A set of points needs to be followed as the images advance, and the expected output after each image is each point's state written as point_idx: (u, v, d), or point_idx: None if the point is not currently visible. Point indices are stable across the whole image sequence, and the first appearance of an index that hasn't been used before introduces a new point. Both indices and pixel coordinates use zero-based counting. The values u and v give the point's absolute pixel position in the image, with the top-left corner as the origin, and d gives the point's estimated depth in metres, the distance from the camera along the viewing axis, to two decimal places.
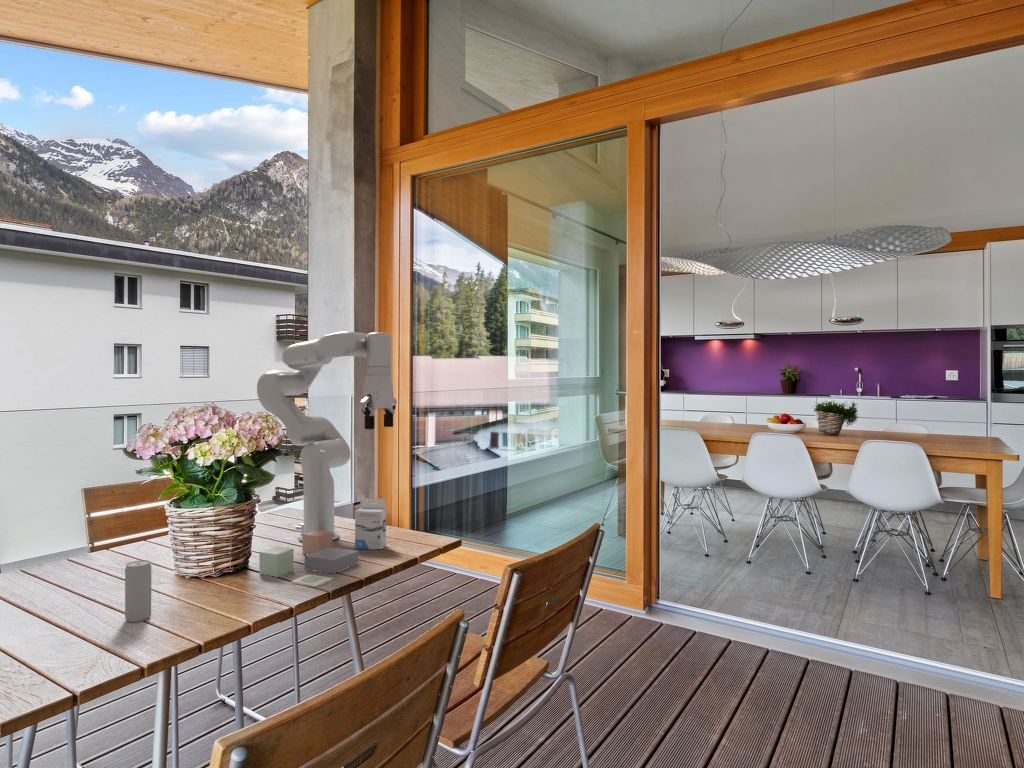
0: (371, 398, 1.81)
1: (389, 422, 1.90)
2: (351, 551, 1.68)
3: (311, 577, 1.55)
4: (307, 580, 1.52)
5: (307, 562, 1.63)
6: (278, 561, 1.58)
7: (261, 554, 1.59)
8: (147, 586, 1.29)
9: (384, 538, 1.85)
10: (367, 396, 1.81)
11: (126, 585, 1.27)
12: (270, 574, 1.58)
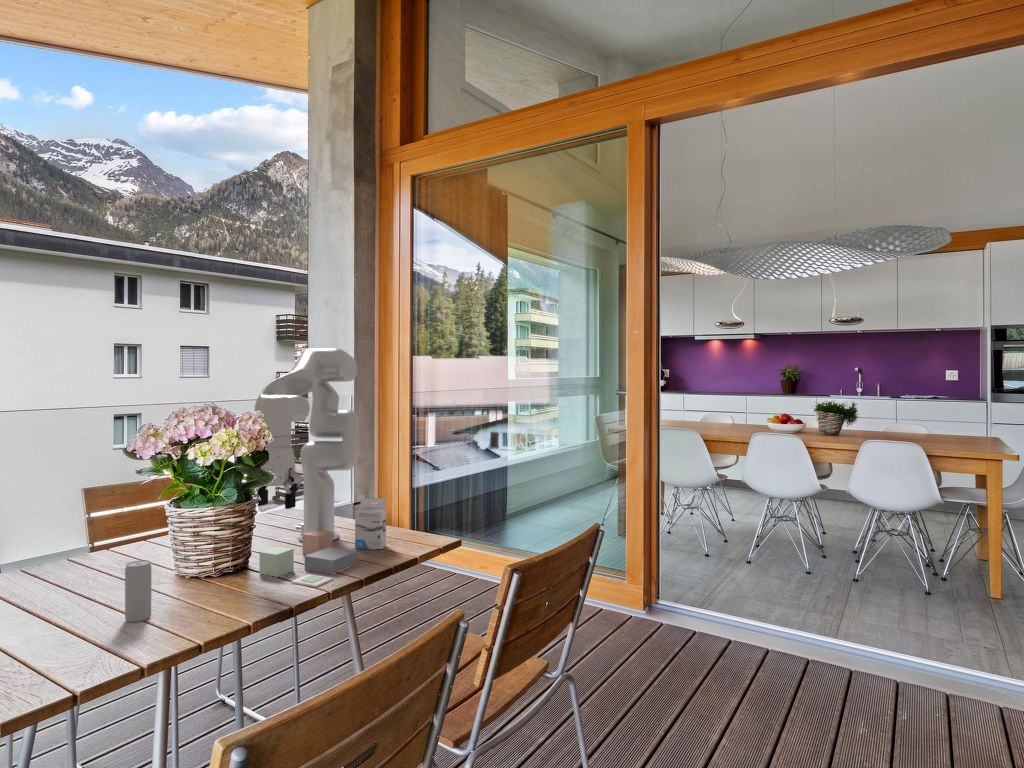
0: None
1: (265, 499, 1.63)
2: (351, 551, 1.68)
3: (311, 577, 1.55)
4: (307, 580, 1.52)
5: (307, 562, 1.63)
6: (278, 561, 1.58)
7: (261, 554, 1.59)
8: (147, 586, 1.29)
9: (384, 538, 1.85)
10: (292, 470, 1.58)
11: (126, 585, 1.27)
12: (270, 574, 1.58)
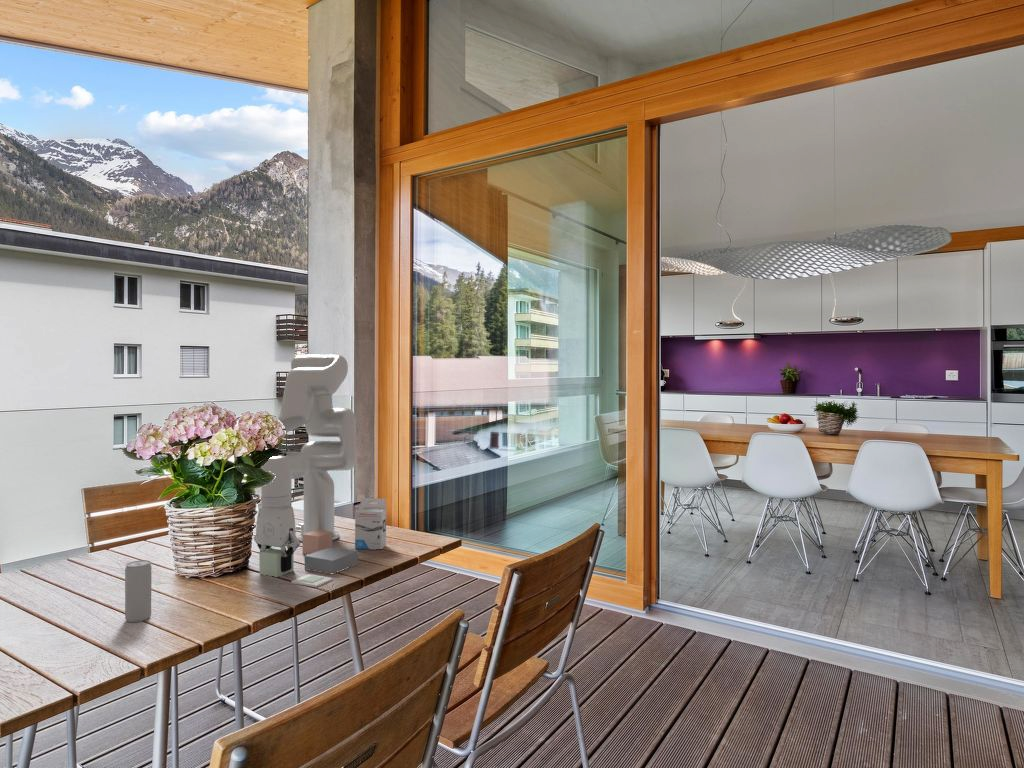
0: None
1: None
2: (351, 551, 1.68)
3: (311, 577, 1.55)
4: (307, 580, 1.52)
5: (307, 562, 1.63)
6: (278, 560, 1.58)
7: (261, 554, 1.59)
8: (147, 586, 1.29)
9: (384, 538, 1.85)
10: (291, 533, 1.59)
11: (126, 585, 1.27)
12: (270, 574, 1.58)
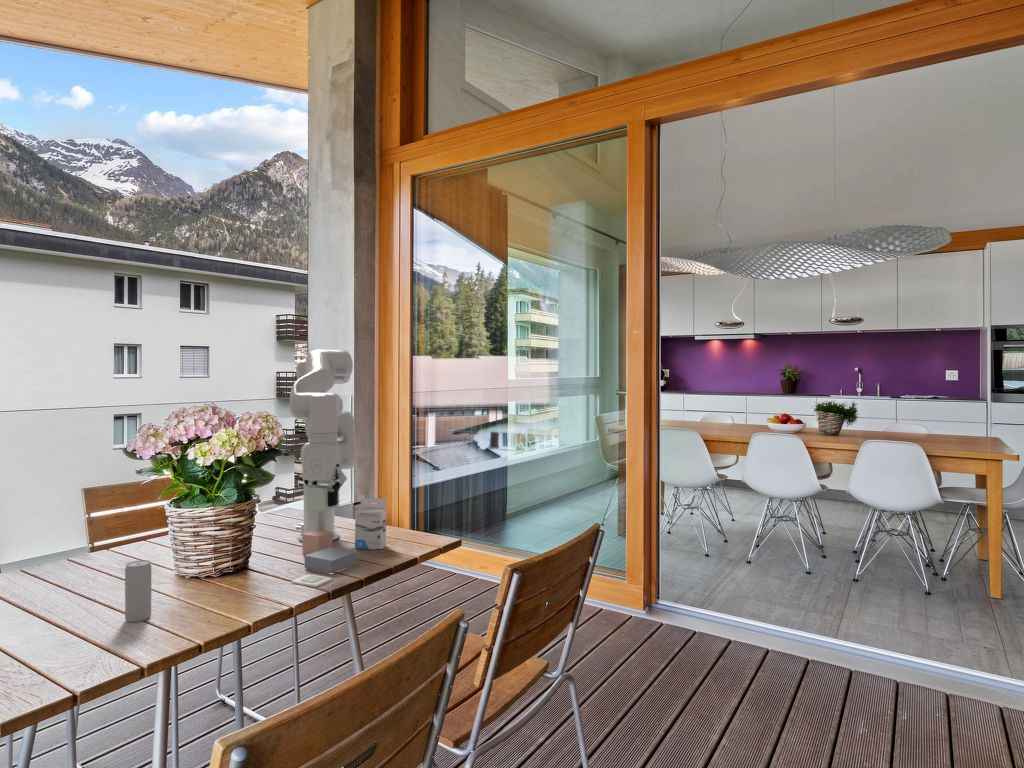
0: None
1: None
2: (351, 551, 1.68)
3: (311, 577, 1.55)
4: (307, 580, 1.52)
5: (307, 562, 1.64)
6: (325, 495, 1.62)
7: (308, 489, 1.64)
8: (147, 586, 1.29)
9: (384, 538, 1.85)
10: (338, 469, 1.63)
11: (126, 585, 1.27)
12: (317, 508, 1.62)
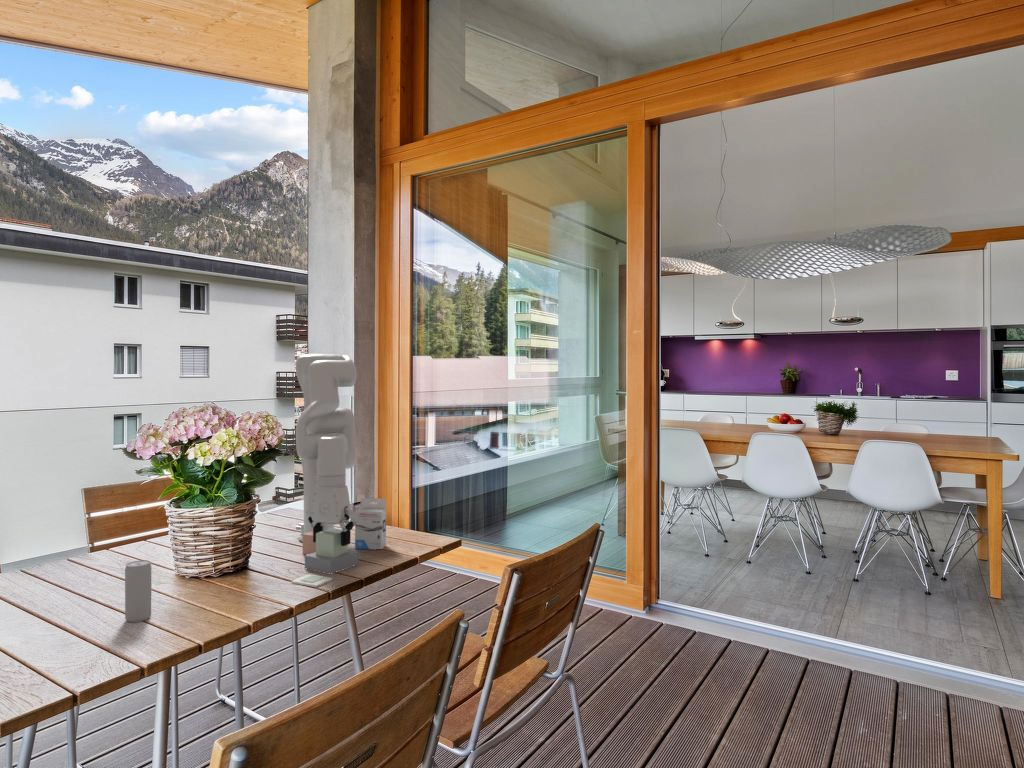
0: None
1: None
2: (351, 552, 1.67)
3: (311, 577, 1.55)
4: (307, 580, 1.52)
5: (307, 561, 1.64)
6: (334, 541, 1.63)
7: (317, 535, 1.64)
8: (147, 586, 1.29)
9: (384, 538, 1.85)
10: (347, 509, 1.64)
11: (126, 585, 1.27)
12: (327, 554, 1.63)
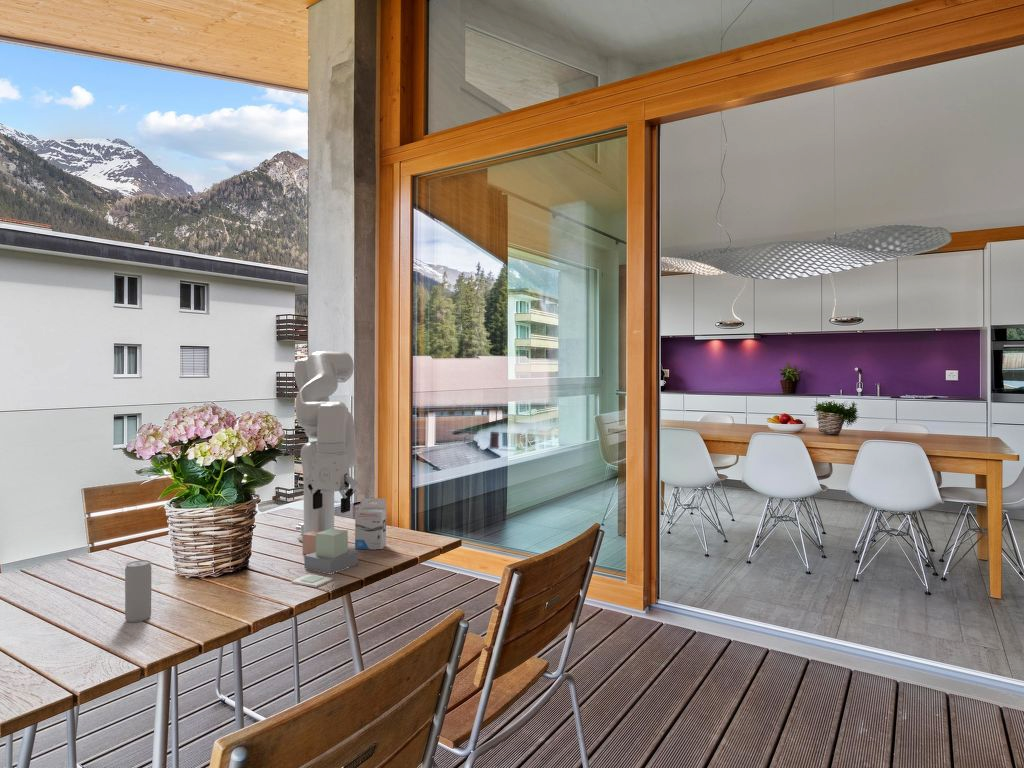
0: None
1: (320, 502, 1.69)
2: (351, 552, 1.68)
3: (311, 577, 1.55)
4: (307, 580, 1.52)
5: (307, 562, 1.64)
6: (335, 541, 1.63)
7: (318, 536, 1.64)
8: (147, 586, 1.29)
9: (384, 538, 1.85)
10: (347, 476, 1.64)
11: (126, 585, 1.27)
12: (327, 555, 1.63)
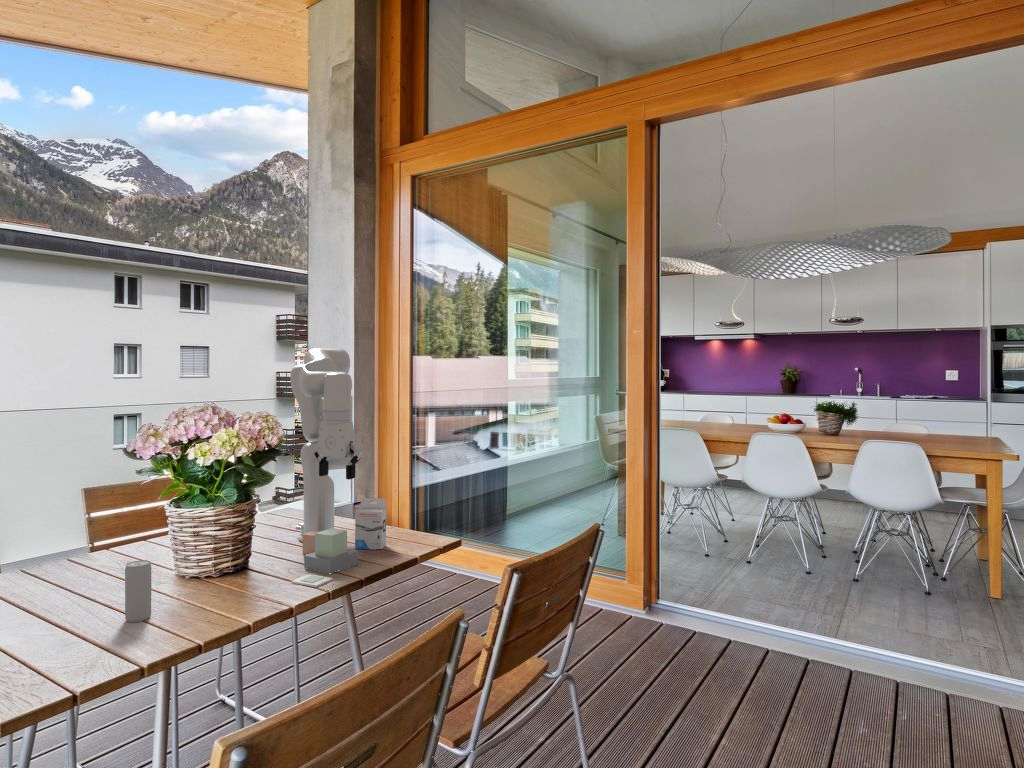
0: None
1: (326, 470, 1.73)
2: (351, 552, 1.68)
3: (311, 577, 1.55)
4: (307, 580, 1.52)
5: (306, 561, 1.64)
6: (333, 541, 1.63)
7: (317, 535, 1.64)
8: (147, 586, 1.29)
9: (384, 538, 1.85)
10: (352, 443, 1.67)
11: (126, 585, 1.27)
12: (326, 554, 1.63)
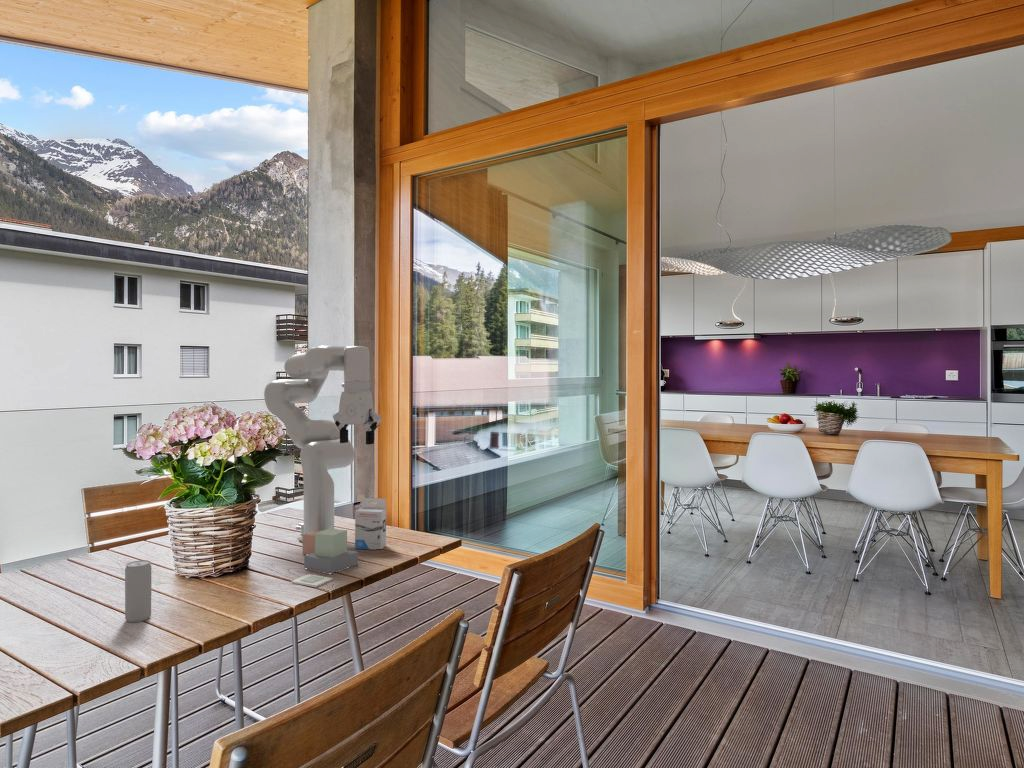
0: None
1: (346, 438, 1.85)
2: (351, 552, 1.68)
3: (311, 577, 1.55)
4: (307, 580, 1.52)
5: (306, 562, 1.64)
6: (334, 541, 1.63)
7: (317, 535, 1.64)
8: (147, 586, 1.29)
9: (384, 538, 1.85)
10: (371, 411, 1.80)
11: (126, 585, 1.27)
12: (326, 554, 1.63)
